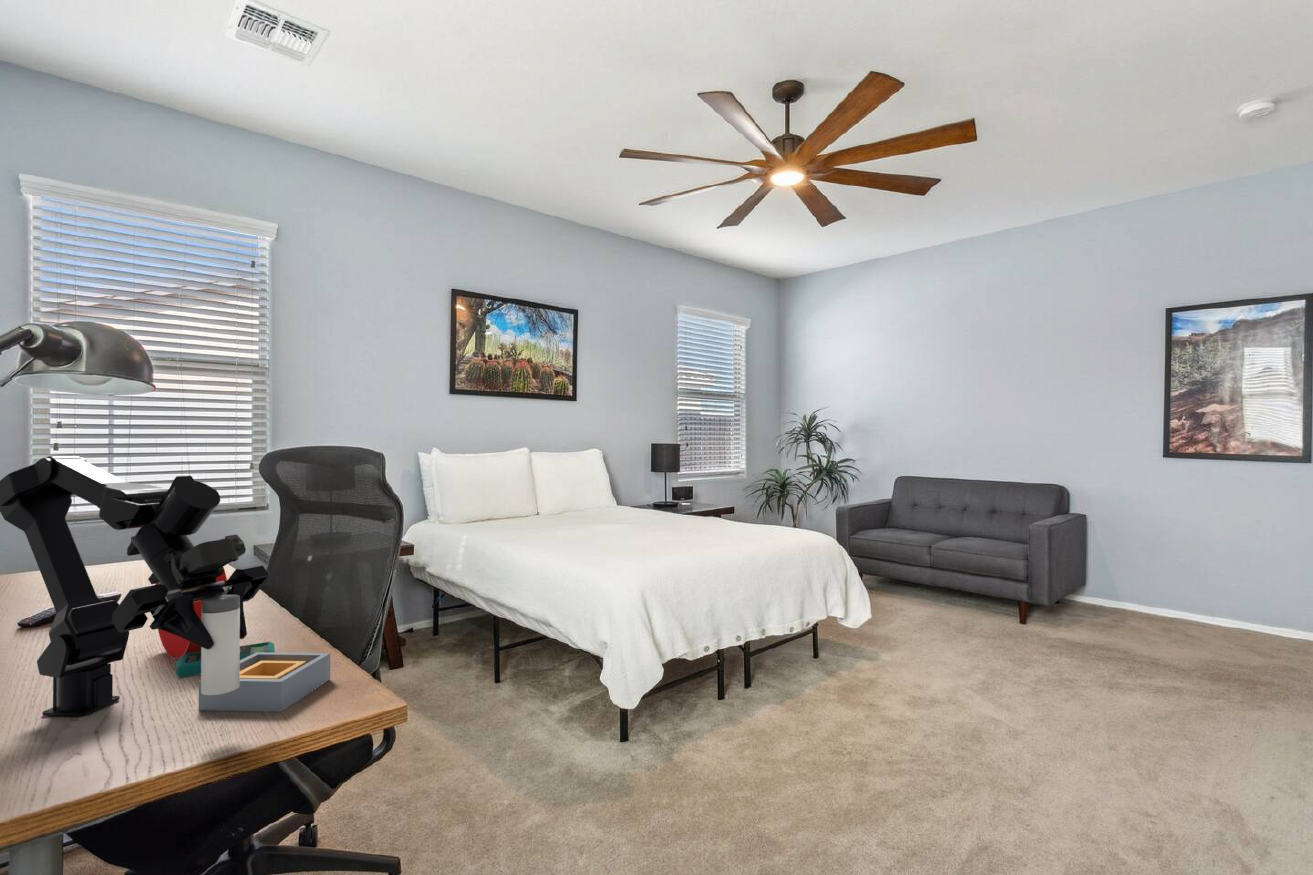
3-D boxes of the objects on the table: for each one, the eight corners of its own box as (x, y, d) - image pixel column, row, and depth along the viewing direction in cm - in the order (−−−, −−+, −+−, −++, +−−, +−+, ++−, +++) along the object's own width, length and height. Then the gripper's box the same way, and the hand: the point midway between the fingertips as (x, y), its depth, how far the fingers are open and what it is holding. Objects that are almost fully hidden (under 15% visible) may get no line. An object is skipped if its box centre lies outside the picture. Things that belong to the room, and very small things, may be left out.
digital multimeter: (179, 668, 116) (179, 652, 116) (274, 654, 124) (274, 639, 124) (173, 681, 110) (173, 664, 110) (274, 665, 117) (274, 649, 117)
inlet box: (198, 710, 97) (198, 680, 97) (256, 678, 110) (256, 652, 110) (281, 711, 96) (281, 681, 96) (330, 679, 109) (330, 653, 109)
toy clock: (229, 659, 119) (229, 552, 119) (192, 668, 114) (193, 557, 115) (189, 640, 131) (189, 543, 131) (154, 648, 126) (154, 547, 126)
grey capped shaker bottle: (193, 694, 86) (193, 602, 86) (217, 682, 90) (217, 594, 91) (224, 695, 86) (224, 602, 86) (247, 683, 90) (247, 594, 90)
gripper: (127, 527, 81) (188, 622, 77) (261, 512, 98) (316, 588, 95) (86, 585, 83) (143, 679, 80) (224, 560, 101) (276, 636, 97)
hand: (228, 641), depth 88 cm, fingers closed on grey capped shaker bottle, 4 cm apart
